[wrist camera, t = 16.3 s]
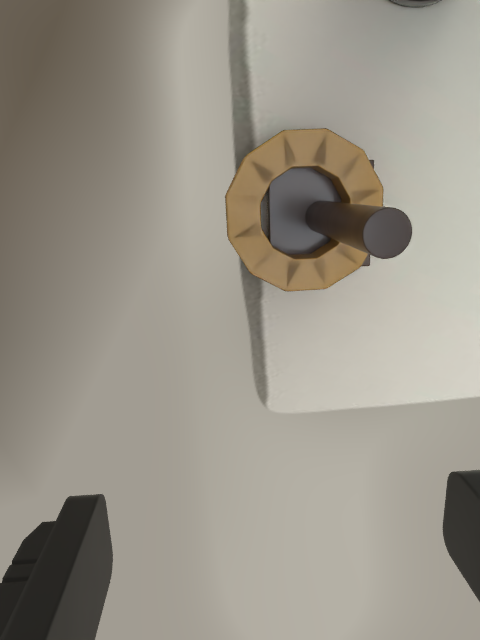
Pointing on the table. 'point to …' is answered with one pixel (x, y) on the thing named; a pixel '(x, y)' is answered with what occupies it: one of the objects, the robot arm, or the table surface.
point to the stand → (330, 218)
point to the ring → (252, 184)
